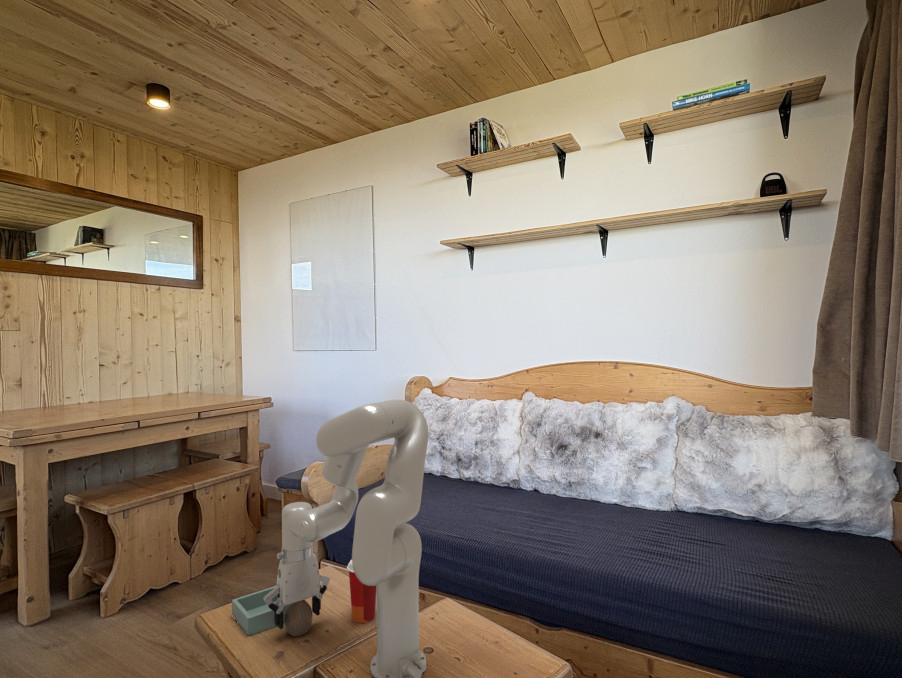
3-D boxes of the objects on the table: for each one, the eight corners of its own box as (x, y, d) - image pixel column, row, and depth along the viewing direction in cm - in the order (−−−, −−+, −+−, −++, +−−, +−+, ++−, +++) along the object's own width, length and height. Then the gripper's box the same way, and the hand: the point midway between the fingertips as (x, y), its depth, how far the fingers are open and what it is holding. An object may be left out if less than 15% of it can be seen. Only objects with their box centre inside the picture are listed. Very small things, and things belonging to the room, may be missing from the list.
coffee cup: (378, 608, 141) (377, 553, 141) (379, 623, 133) (378, 566, 133) (348, 611, 139) (347, 556, 140) (347, 627, 131) (346, 569, 132)
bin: (297, 618, 136) (297, 601, 136) (248, 636, 128) (247, 618, 128) (278, 600, 146) (278, 584, 146) (231, 616, 138) (231, 599, 138)
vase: (308, 639, 126) (307, 604, 126) (280, 639, 126) (280, 604, 126) (316, 624, 133) (315, 590, 133) (289, 624, 133) (289, 591, 133)
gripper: (269, 567, 122) (270, 639, 121) (335, 548, 133) (335, 614, 132) (258, 557, 127) (258, 626, 127) (322, 540, 138) (322, 603, 138)
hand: (298, 619), depth 130 cm, fingers open, 9 cm apart
